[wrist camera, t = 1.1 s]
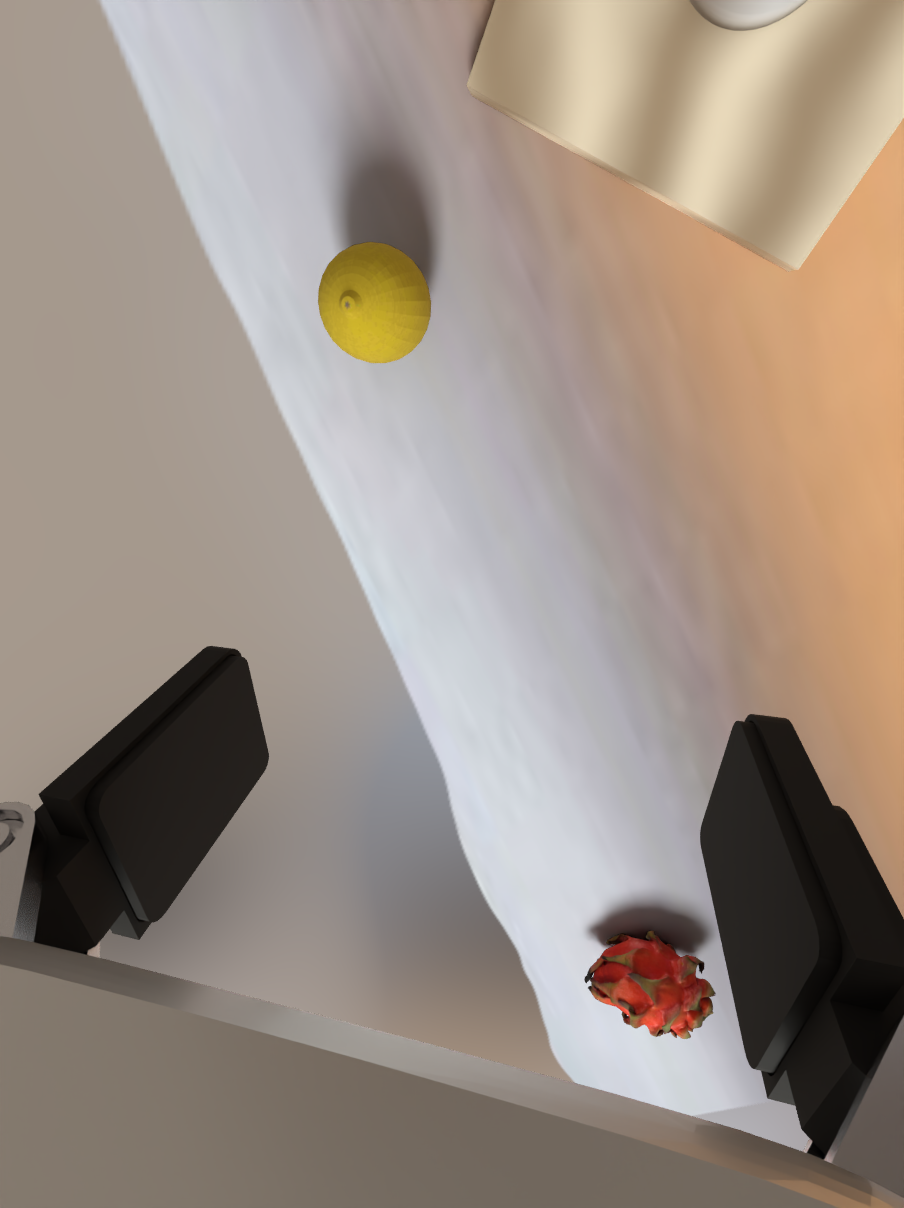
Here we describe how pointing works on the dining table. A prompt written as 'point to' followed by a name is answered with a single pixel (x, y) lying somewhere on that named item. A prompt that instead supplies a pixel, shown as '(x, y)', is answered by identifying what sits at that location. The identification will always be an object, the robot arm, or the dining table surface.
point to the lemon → (374, 302)
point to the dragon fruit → (652, 985)
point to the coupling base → (709, 101)
